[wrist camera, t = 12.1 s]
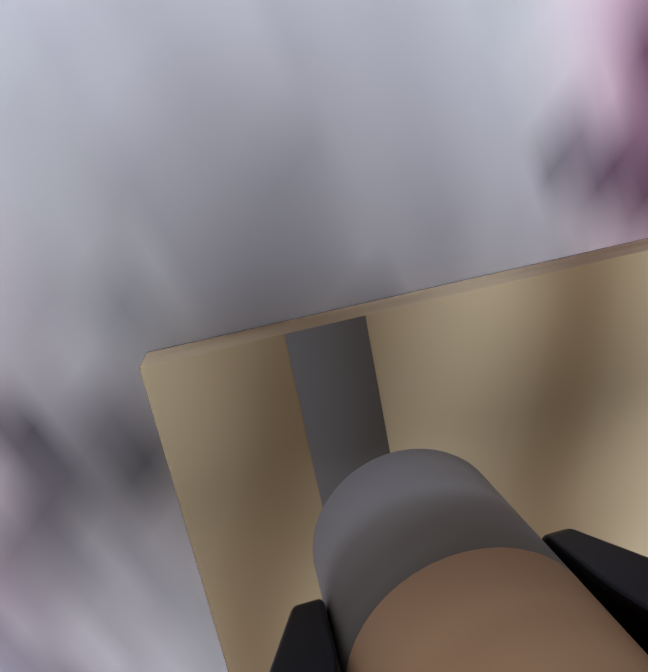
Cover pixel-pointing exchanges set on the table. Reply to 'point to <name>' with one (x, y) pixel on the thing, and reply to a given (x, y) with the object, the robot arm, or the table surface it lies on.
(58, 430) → the table surface
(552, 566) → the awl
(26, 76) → the table surface
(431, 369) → the board
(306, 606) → the robot arm
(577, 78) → the table surface
